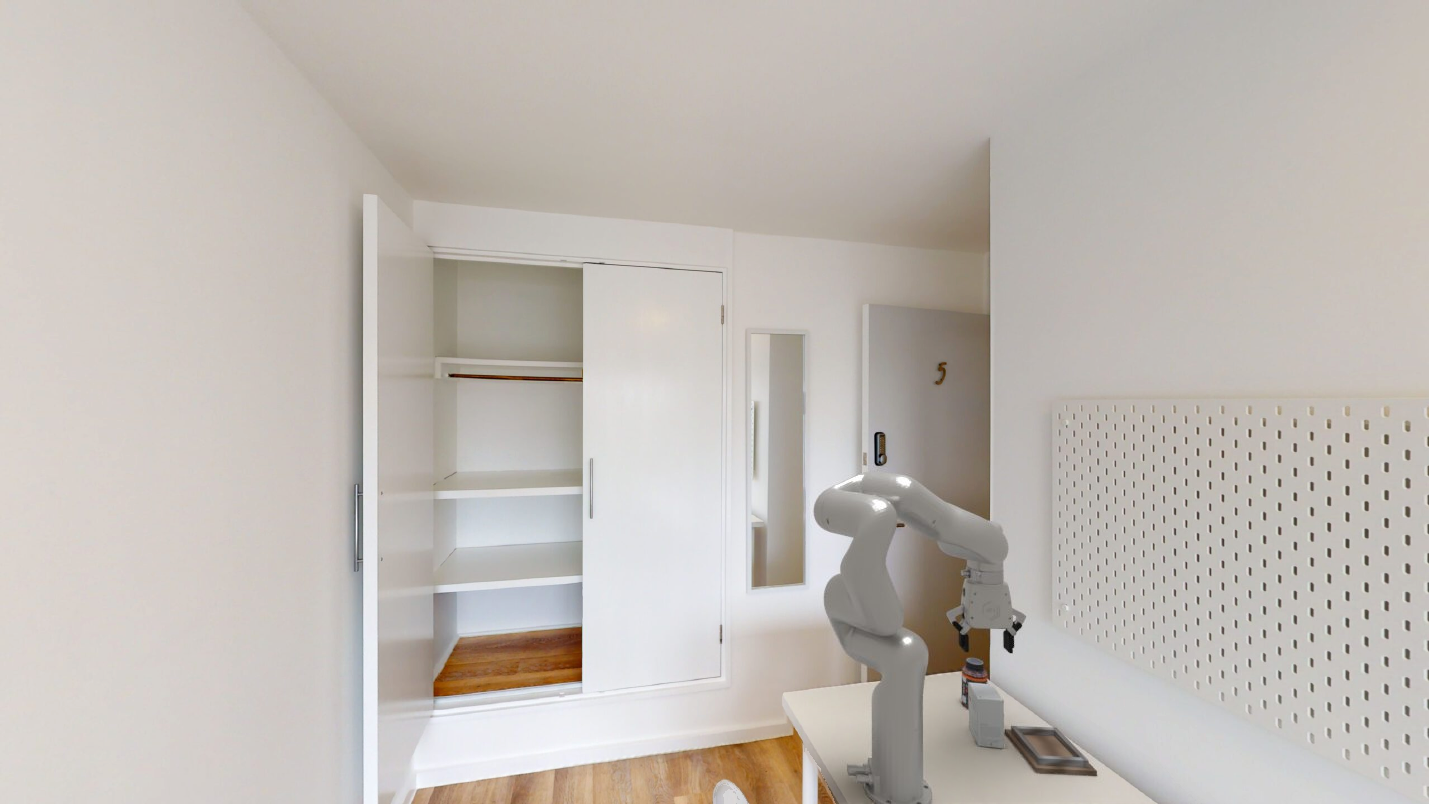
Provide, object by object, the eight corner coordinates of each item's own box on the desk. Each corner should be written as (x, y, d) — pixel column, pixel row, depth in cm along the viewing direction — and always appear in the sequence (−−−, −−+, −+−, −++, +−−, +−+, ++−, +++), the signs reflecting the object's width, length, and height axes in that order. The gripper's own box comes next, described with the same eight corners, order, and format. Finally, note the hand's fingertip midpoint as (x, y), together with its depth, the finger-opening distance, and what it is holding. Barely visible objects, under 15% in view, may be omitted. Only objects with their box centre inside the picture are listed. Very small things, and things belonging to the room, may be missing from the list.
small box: (1004, 749, 120) (1004, 701, 121) (977, 746, 121) (977, 698, 122) (993, 729, 128) (993, 683, 128) (968, 726, 129) (967, 681, 130)
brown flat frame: (1035, 772, 112) (1035, 761, 113) (1004, 733, 126) (1004, 723, 126) (1096, 775, 112) (1096, 763, 112) (1058, 735, 126) (1058, 725, 126)
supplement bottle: (963, 710, 137) (963, 664, 137) (960, 698, 142) (959, 654, 143) (989, 713, 135) (989, 667, 135) (985, 701, 140) (985, 657, 141)
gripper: (952, 580, 123) (953, 656, 122) (1032, 581, 121) (1033, 658, 121) (940, 570, 130) (941, 642, 130) (1016, 571, 129) (1017, 644, 129)
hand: (986, 650), depth 126 cm, fingers open, 9 cm apart
